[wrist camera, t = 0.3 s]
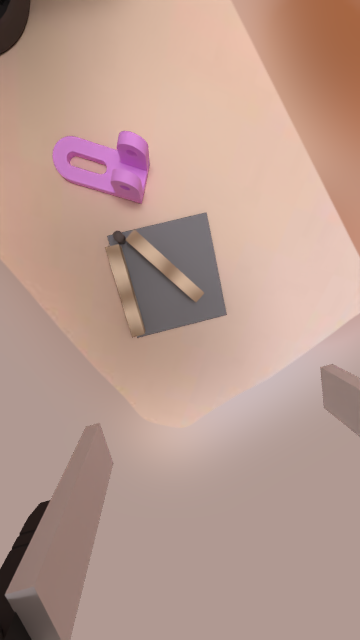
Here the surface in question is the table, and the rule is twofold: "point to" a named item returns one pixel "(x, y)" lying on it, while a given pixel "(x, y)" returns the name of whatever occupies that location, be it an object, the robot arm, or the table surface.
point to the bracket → (122, 165)
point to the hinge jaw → (164, 265)
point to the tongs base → (125, 285)
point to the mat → (190, 258)
